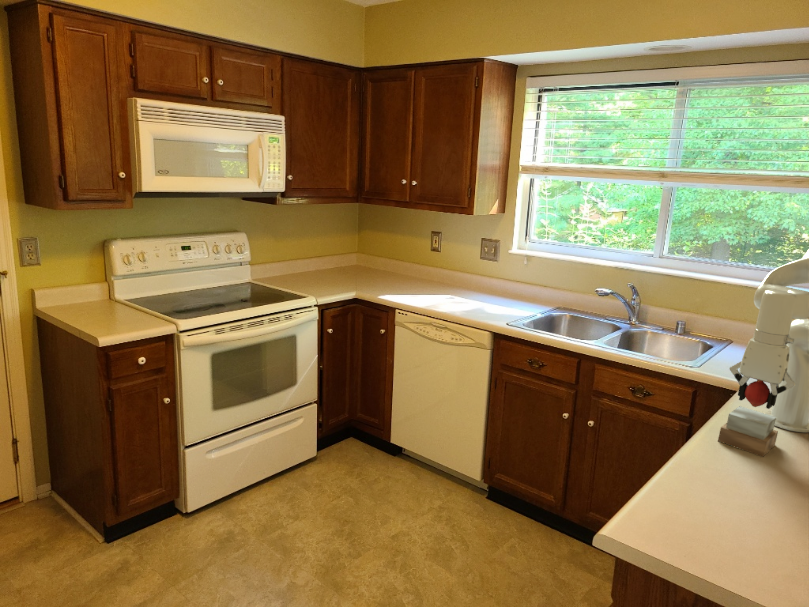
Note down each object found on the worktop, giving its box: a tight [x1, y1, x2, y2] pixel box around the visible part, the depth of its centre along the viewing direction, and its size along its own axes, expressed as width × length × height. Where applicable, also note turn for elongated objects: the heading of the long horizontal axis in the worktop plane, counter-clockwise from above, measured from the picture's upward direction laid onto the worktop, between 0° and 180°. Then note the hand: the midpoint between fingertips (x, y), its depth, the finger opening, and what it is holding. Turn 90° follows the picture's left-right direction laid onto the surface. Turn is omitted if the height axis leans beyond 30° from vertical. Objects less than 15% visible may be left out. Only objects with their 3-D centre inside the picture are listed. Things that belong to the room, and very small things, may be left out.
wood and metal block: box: [717, 405, 779, 458], centre depth 162 cm, size 11×11×8 cm
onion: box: [745, 379, 771, 408], centre depth 159 cm, size 6×6×8 cm
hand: (755, 402), depth 160 cm, fingers closed on onion, 5 cm apart
